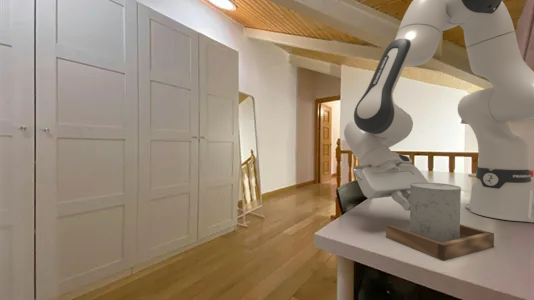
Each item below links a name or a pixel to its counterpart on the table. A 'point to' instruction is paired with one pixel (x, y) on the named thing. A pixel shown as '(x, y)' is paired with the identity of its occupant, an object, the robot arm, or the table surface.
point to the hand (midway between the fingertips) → (411, 208)
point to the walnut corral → (466, 244)
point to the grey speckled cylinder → (435, 211)
